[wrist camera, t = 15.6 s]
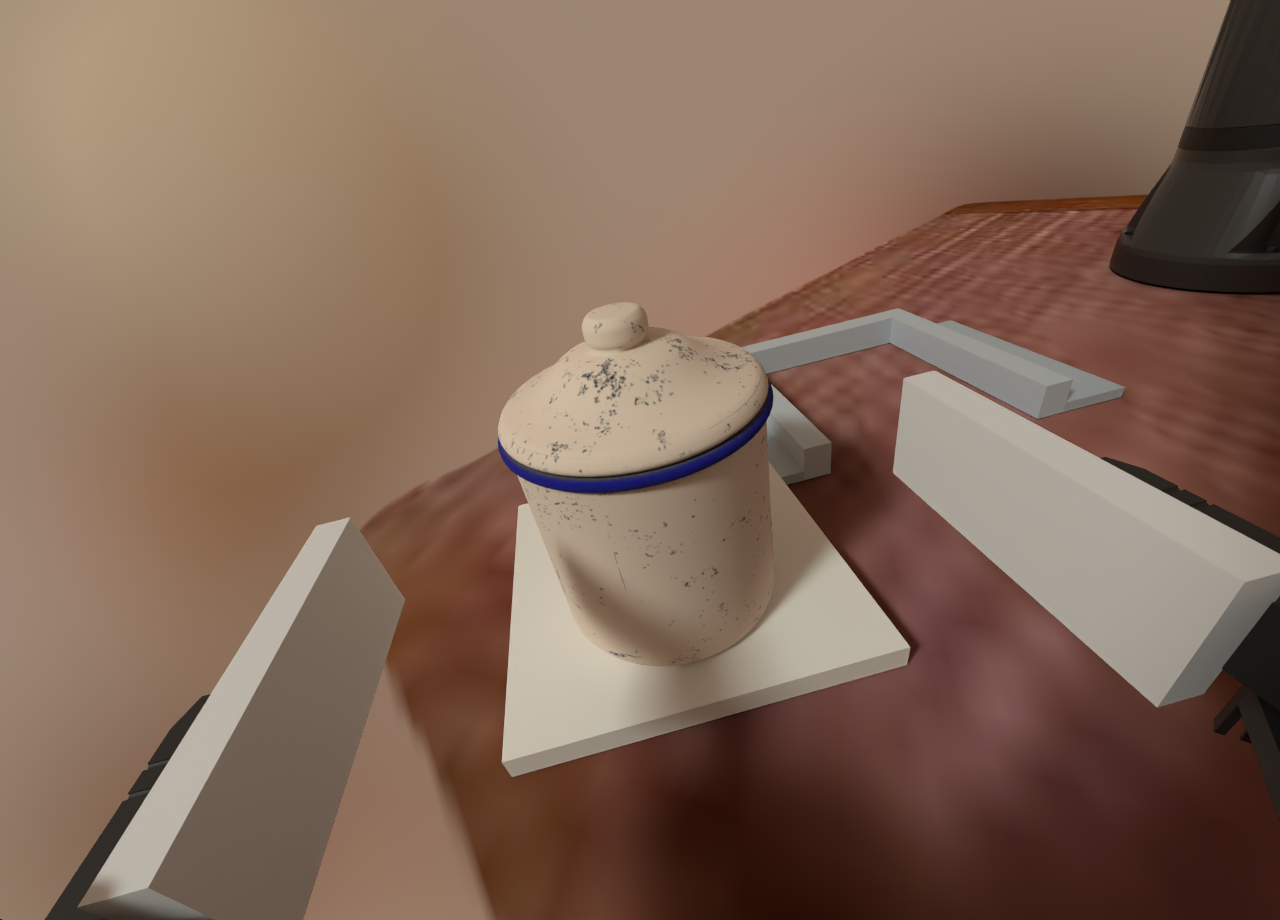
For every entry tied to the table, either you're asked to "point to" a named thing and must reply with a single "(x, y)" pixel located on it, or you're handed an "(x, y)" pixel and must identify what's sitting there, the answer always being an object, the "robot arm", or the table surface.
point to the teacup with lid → (650, 485)
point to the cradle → (944, 345)
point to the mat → (695, 692)
